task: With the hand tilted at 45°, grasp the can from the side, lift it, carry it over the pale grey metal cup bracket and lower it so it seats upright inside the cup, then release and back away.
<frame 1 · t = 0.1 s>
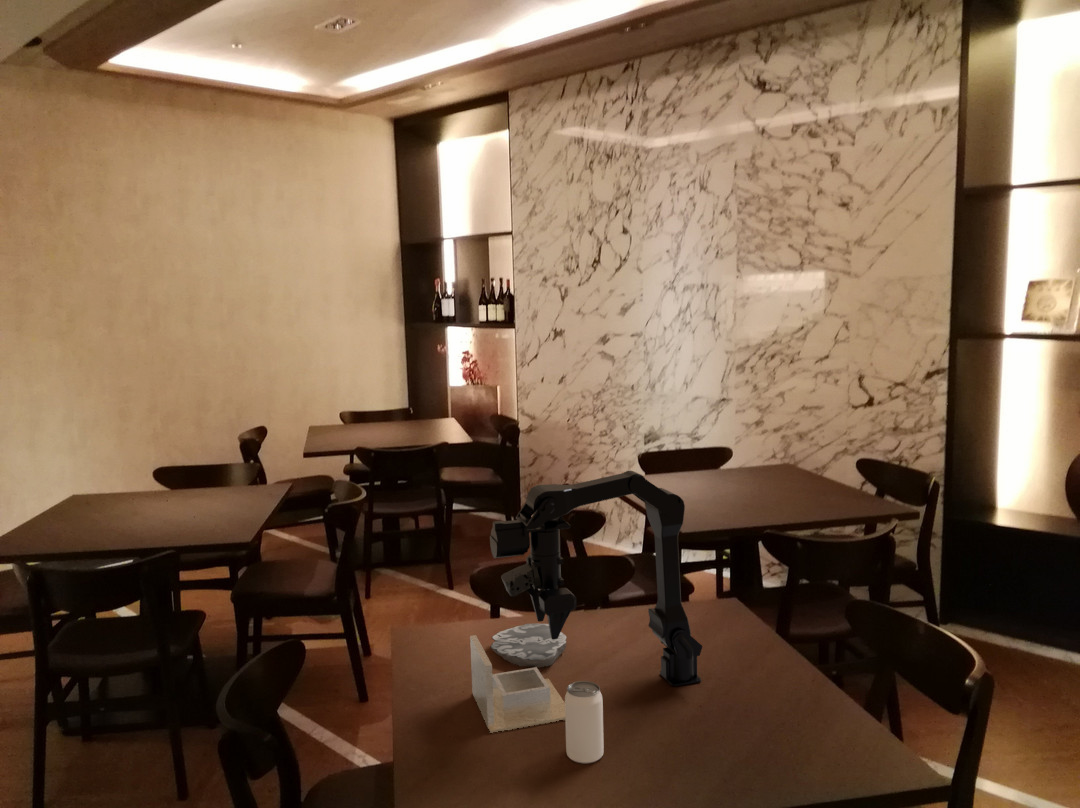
hand: (547, 629, 155), 15 cm above the table, tool pointing down, fingers open, 9 cm apart
brain slice: (528, 654, 180), on the table
can: (585, 755, 138), on the table
cup bracket: (521, 705, 155), on the table
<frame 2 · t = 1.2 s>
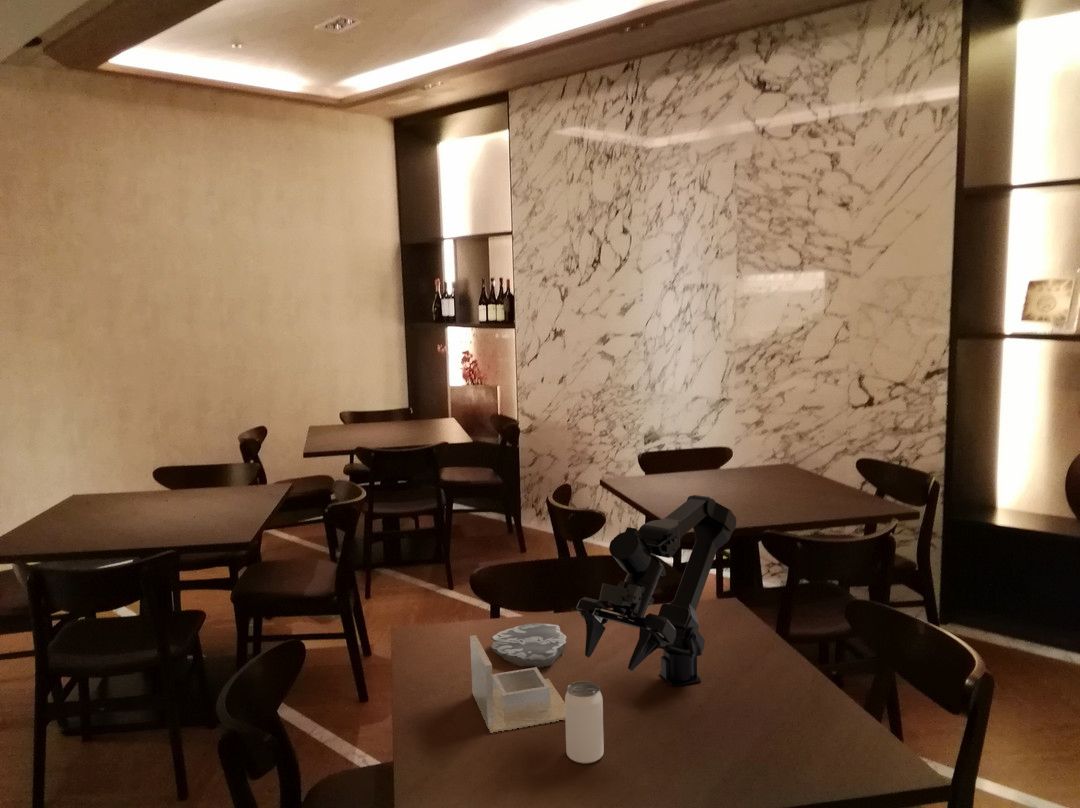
hand: (607, 663, 143), 13 cm above the table, tool tilted 45°, fingers open, 9 cm apart
nothing on the table moved.
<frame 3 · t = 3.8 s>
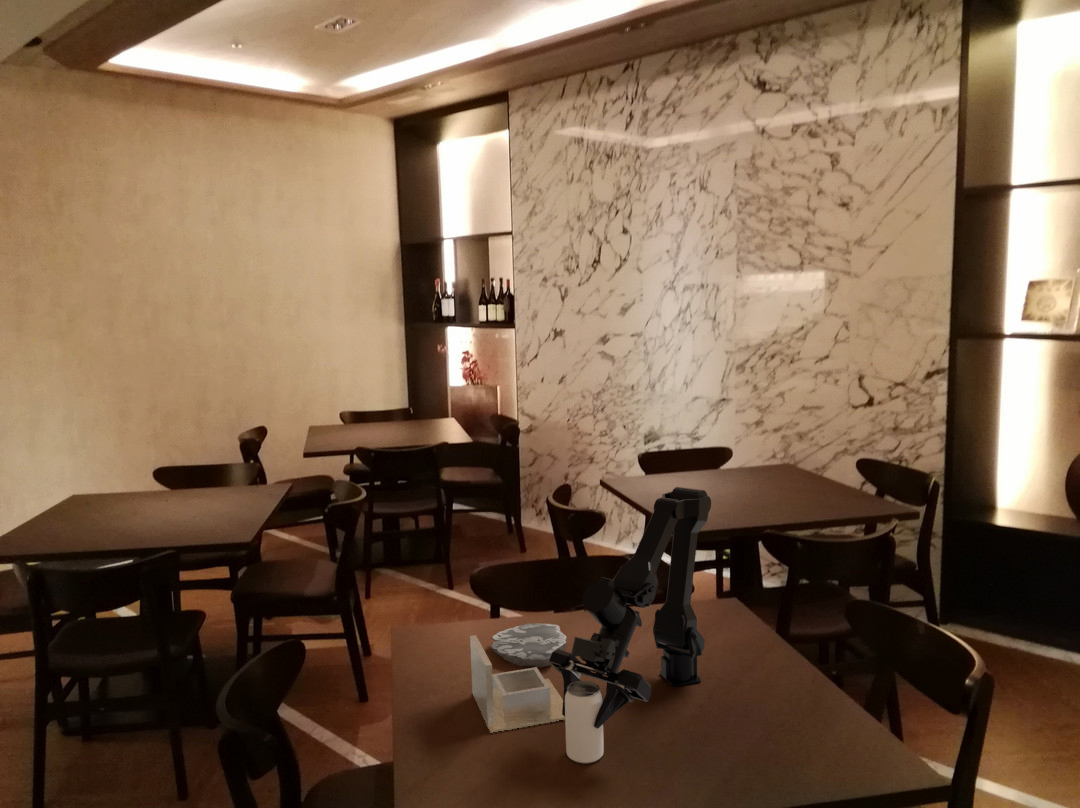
hand: (579, 721, 136), 7 cm above the table, tool tilted 45°, fingers closed on can, 6 cm apart
can: (585, 755, 138), on the table, touching gripper
everything else where it was.
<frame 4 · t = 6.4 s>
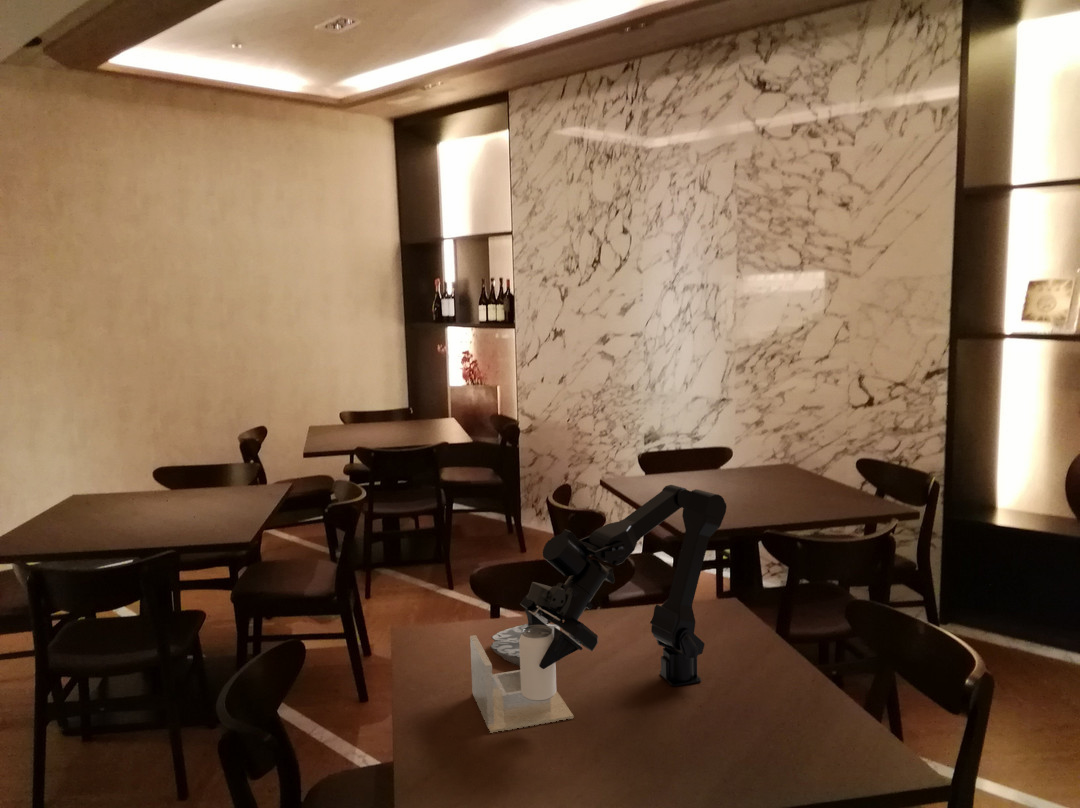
hand: (531, 661, 145), 13 cm above the table, tool tilted 45°, fingers closed on can, 6 cm apart
can: (538, 694, 146), point 6 cm above the table, touching gripper
everything else where it was.
when the fingers open (8 cm above the table, at t = 8.8 s): can moves 1 cm, resting on cup bracket.
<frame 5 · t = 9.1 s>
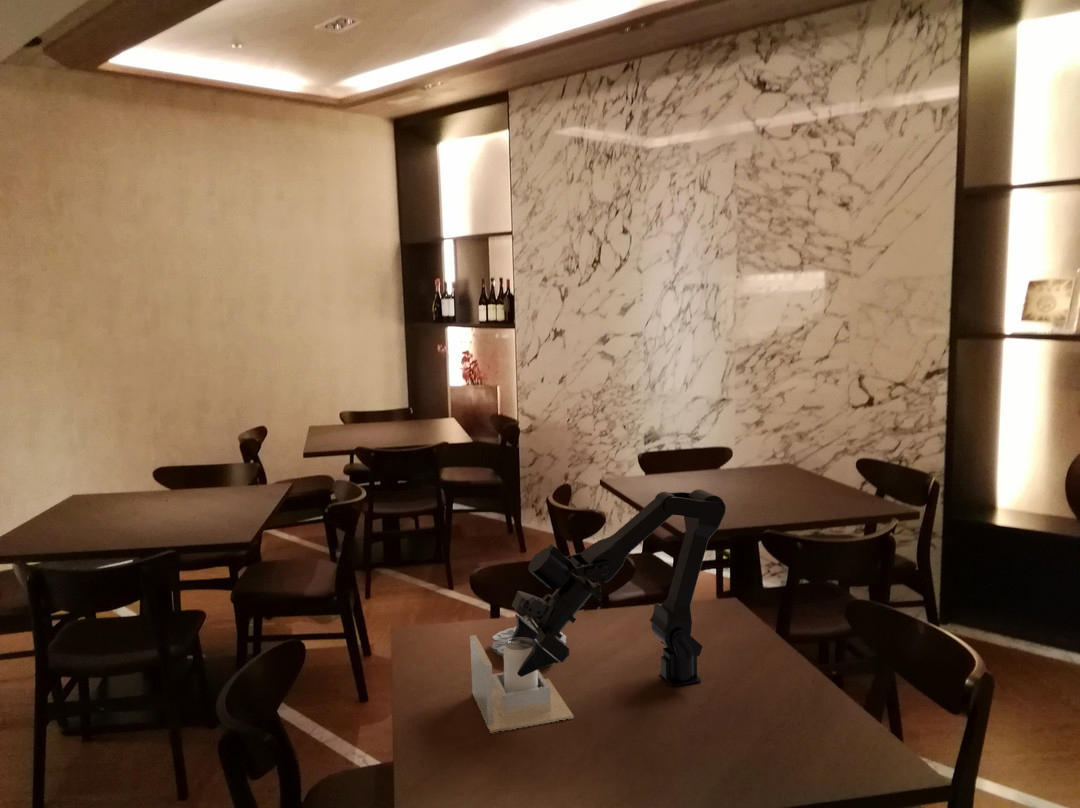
hand: (512, 664, 154), 9 cm above the table, tool tilted 45°, fingers open, 9 cm apart
can: (521, 702, 156), resting on cup bracket
everything else where it was.
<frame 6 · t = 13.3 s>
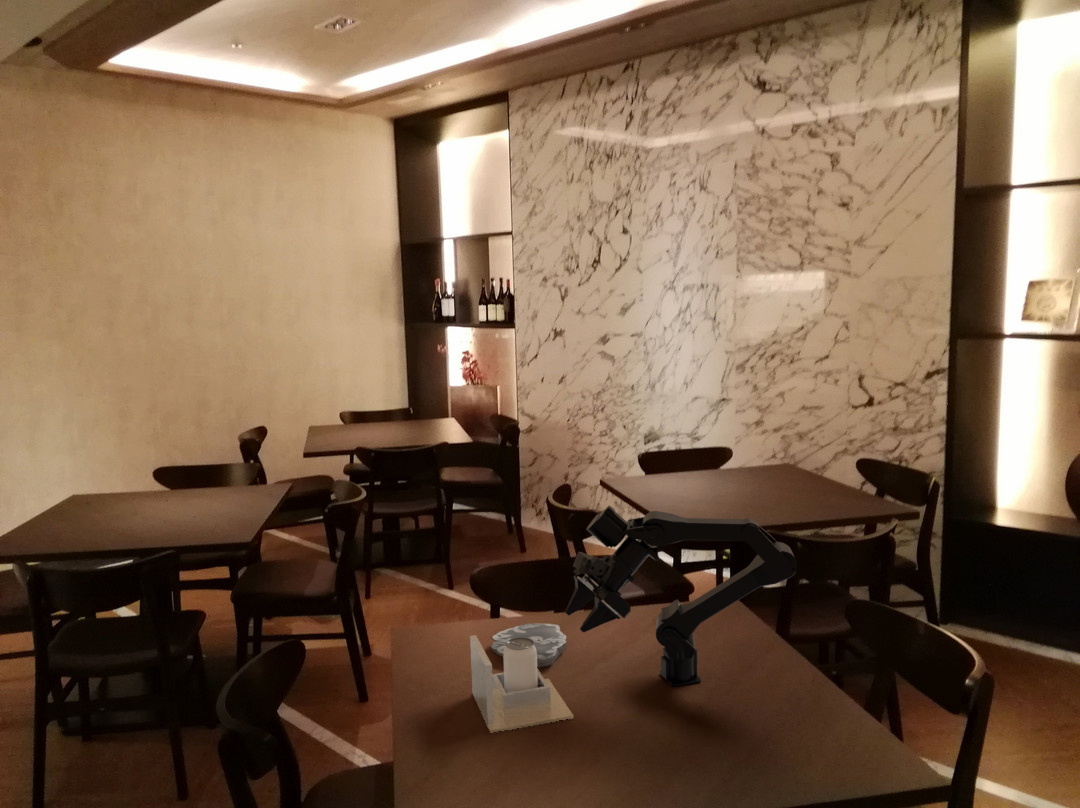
hand: (574, 622, 161), 14 cm above the table, tool tilted 45°, fingers open, 9 cm apart
nothing on the table moved.
at the end: can 0.4 cm off-centre on the cup bracket, point 0.4 cm above the cup bracket's base; can tilted 0°; the gripper is holding nothing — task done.
